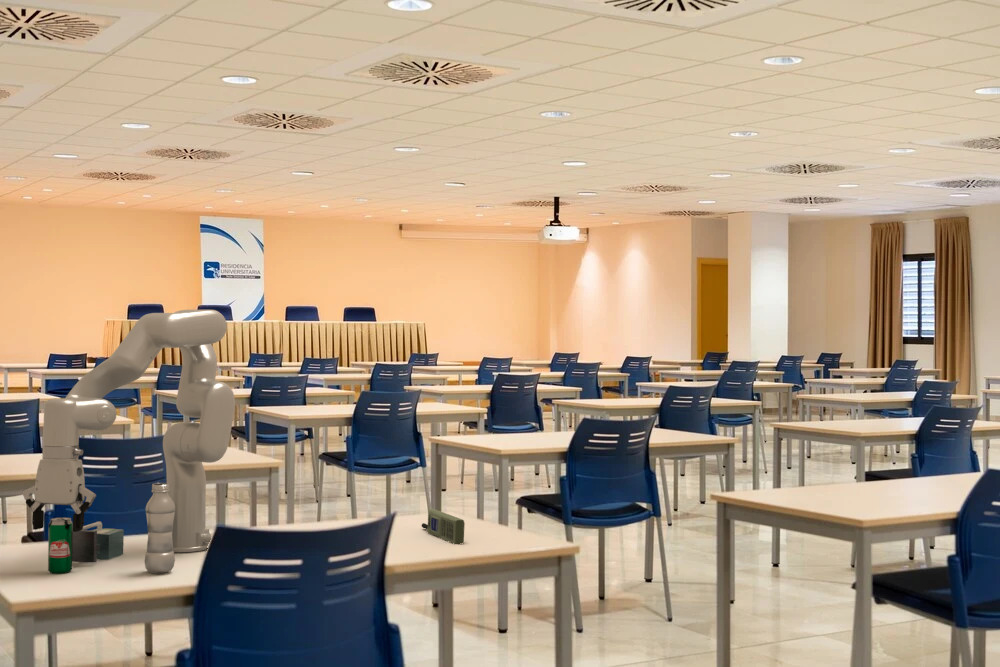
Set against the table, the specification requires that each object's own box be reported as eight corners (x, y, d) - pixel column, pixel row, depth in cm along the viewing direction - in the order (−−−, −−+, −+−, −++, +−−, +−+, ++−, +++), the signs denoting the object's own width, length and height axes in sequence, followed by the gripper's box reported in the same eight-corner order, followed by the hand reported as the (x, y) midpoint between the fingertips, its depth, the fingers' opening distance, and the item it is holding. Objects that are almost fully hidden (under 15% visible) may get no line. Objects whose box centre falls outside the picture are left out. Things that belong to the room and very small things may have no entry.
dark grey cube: (108, 559, 265) (108, 534, 265) (81, 558, 267) (81, 533, 267) (123, 554, 272) (123, 529, 272) (96, 553, 273) (97, 528, 273)
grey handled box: (93, 562, 258) (94, 529, 258) (62, 561, 259) (62, 527, 259) (115, 554, 267) (115, 522, 267) (84, 553, 269) (84, 521, 269)
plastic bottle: (163, 568, 256) (164, 481, 256) (180, 572, 252) (181, 483, 252) (138, 572, 251) (139, 484, 251) (155, 577, 247) (156, 486, 247)
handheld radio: (453, 545, 288) (417, 530, 310) (465, 545, 289) (428, 529, 312) (454, 519, 288) (418, 506, 310) (466, 519, 289) (429, 506, 312)
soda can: (46, 575, 248) (47, 521, 248) (49, 570, 253) (50, 517, 253) (71, 573, 249) (71, 520, 249) (73, 569, 254) (73, 516, 254)
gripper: (104, 453, 253) (102, 529, 253) (34, 451, 256) (32, 525, 256) (87, 456, 246) (84, 534, 245) (15, 453, 249) (12, 530, 248)
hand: (57, 529), depth 251 cm, fingers open, 9 cm apart
